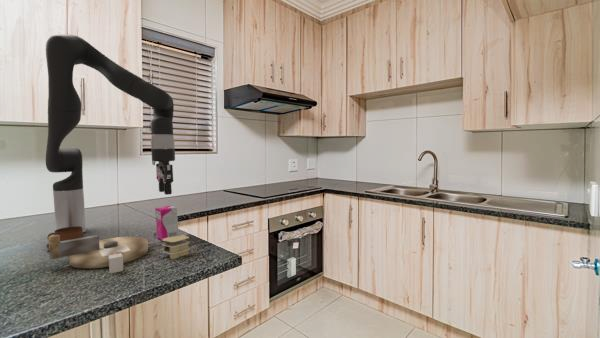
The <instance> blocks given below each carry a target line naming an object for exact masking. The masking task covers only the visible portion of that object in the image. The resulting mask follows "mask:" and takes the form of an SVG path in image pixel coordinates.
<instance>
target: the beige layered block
mask: <svg viewBox="0 0 600 338" xmlns="http://www.w3.org/2000/svg"><path fill="white" fill-rule="evenodd" d="M189 238H190V237H189V236H187V235H184V234H182V235H179V236H175V237H168V238H164V239H163V240H162V241H164V242H163V243H162V244H161V246H162V247H163V250H162V251H161V252H162V253H164V254H168V255H169V259H172V260H175V259H178V258H180V257H183V256H187V255H189V253H190V252H189V251H190V249H191V247H189V244H190V241H189V240H187V239H189ZM162 241H161V242H162Z"/></svg>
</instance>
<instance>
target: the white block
mask: <svg viewBox="0 0 600 338" xmlns="http://www.w3.org/2000/svg"><path fill="white" fill-rule="evenodd" d="M108 258H109V266H108V270H109V273H110V274H115V273H118V272H123V271H124V263H123V256H122V253H119V254H116V253H114V254H113V255H109V256H108Z"/></svg>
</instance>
